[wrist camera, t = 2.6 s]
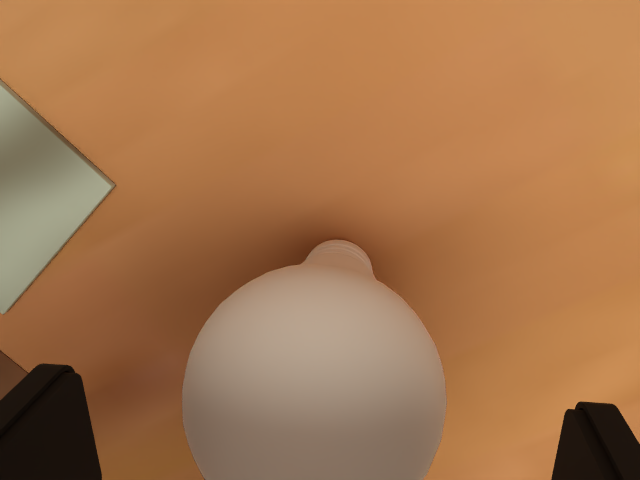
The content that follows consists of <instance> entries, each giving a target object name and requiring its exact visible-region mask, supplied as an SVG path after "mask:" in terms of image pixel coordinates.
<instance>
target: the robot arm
mask: <svg viewBox="0 0 640 480" xmlns="http://www.w3.org/2000/svg"><path fill="white" fill-rule="evenodd" d="M0 480H102V474H101V469H100V464H99V459H98V455H97V450H96V445H95V440H94V435H93V430H92V426H91V421H90V416H89V411H88V406H87V401H86V397H85V392H84V387H83V382H82V378H81V376H80V375H79V374H77V373H75V371H74V369H73V368H72V367H71V366H68V365H56V364H39V365H38V366H36V367H35V368H34V369H33V370H32V371H31V372H30V373H29V374H27V375H26V376H25V377H24V378H23V379H22V380H21V381H20V382H19V383H18V384H17V385H16V386H15V387H14V388H13V389H12V390H11V391H10V392H8V393H7V394H6V395H5V396H4V397H3V398H2V399H1V400H0ZM551 480H640V444H639V442H638V441H637V439H636V438H635V436H634V434H633V433H632V431H631V429H630V428H629V426H628V424H627V423H626V421H625V419H624V418H623V416H622V414H621V413H620V411H619V410H618V408H617V407H616V406H615V405H613V404H607V403H593V402H578V403H577V405H576V407H575V409H568V410H567V411H566V412H565V415H564V420H563V425H562V430H561V435H560V440H559V445H558V450H557V454H556V459H555V464H554V469H553V474H552V479H551Z"/></svg>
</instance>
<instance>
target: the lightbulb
mask: <svg viewBox="0 0 640 480" xmlns="http://www.w3.org/2000/svg"><path fill="white" fill-rule="evenodd" d="M446 405H447V398H446V386H445V377H444V372H443V367H442V364H441V360H440V357H439V354H438V351H437V348H436V345H435V343H434V342H433V340H432V338H431V336H430V335H429V333H428V331H427V330H426V328H425V326H424V324H423V323H422V321H421V320H420V318H419V317H418V315H417V314H416V313H415V312H414V311H413V309H412V308H411V307H410V306H409V305H408V304H407V303H406V302H405V301H404V300H403V298H402V297H401V296H399V295H398V294H397V293H395V292H394V291H393V290H391V289H390V288H389V287H387V286H386V285H385V284H383V283H382V282H380V281H378V280H376V278H375V276H374V275H373V270H372V265H371V262H370V259H369V257H368V256H367V254H366V253H365V252H364V251H363V250H362V249H361V248H360V247H359V246H357V245H356V244H354V243H352V242H349V241H345V240H329V241H326V242H323V243H321V244H319V245H318V246H316V247H315V248H314V249H313V250H312V251H311V252H310V253H309V255H308V257H307V258H306V259H305V261H304V262H302V263H301V264H300V265H292V266H287V267H283V268H280V269H276V270H273V271H269V272H267V273H265V274H263V275H261V276H259V277H257V278H255V279H253V280H251V281H250V282H248V283H246V284H245V285H243V286H242V287H240V288H239V289H237V290H236V291H235V292H234V293H233V294H231V295H230V296H229V297H228V298H226V299H225V300H224V301H223V302H222V303H220V304H219V306H218V307H217V308H216V310H215V311H214V312H213V313H212V315H211V316H210V317H209V319H208V320H207V321H206V323H205V324H204V326H203V327H202V329H201V331H200V332H199V334H198V336H197V338H196V341H195V343H194V345H193V347H192V349H191V352H190V355H189V358H188V362H187V366H186V371H185V376H184V382H183V387H182V413H183V427H184V430H185V434H186V437H187V441H188V444H189V447H190V450H191V453H192V455H193V458H194V460H195V462H196V464H197V466H198V468H199V470H200V472H201V474H202V476H203V477H204V479H205V480H423V479H424V477H425V476H426V475H427V473H428V470H429V468H430V466H431V463H432V461H433V459H434V456H435V454H436V451H437V449H438V447H439V444H440V442H441V438H442V432H443V426H444V420H445V413H446Z"/></svg>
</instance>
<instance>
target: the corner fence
mask: <svg viewBox="0 0 640 480" xmlns="http://www.w3.org/2000/svg"><path fill="white" fill-rule="evenodd" d="M115 186H116V185H115V184H114V183H113V182H112V181H111V180H110V179H109V178H108V177H107V176H105V175H104V174H103V173H102V172H101V171H100V170H99V169H98V168H97V167H96V166H95V165H93V164H92V163H91V162H90V161H89V160H88V159H87V158H86V157H85V156H84V155H83V154H81V153H80V152H79V151H78V150H77V149H76V148H75V147H74V146H73V145H72V144H70V143H69V142H68V141H67V140H66V139H65V138H64V137H63V136H62V135H61V134H60V133H58V132H57V131H56V130H55V129H54V128H53V127H52V126H51V125H50V124H49V123H48V122H46V121H45V120H44V119H43V118H42V117H41V116H40V115H39V114H38V113H37V112H36V111H34V110H33V109H32V108H31V107H30V106H29V105H28V104H27V103H26V102H25V101H24V100H22V99H21V98H20V97H19V96H18V95H17V94H16V93H15V92H14V91H13V90H11V89H10V88H9V87H8V86H7V85H6V84H5V83H4V82H3V81H2V80H1V79H0V313H2V314H5V313H6V312H8V310H9V309H10V308H11V307H12V306H13V305H14V303H15V302H16V301H17V300H18V299H19V298H20V296H21V295H22V294H23V293H24V292H25V291H26V289H27V288H28V287H29V286H30V285H31V284H32V282H33V281H34V280H35V279H36V278H37V277H38V275H39V274H40V273H41V272H42V271H43V270H44V268H45V267H46V266H47V265H48V264H49V263H50V261H51V260H52V259H53V258H54V257H55V256H56V254H57V253H58V252H59V251H60V250H61V249H62V247H63V246H64V245H65V244H66V243H67V242H68V240H69V239H70V238H71V237H72V236H73V235H74V233H75V232H76V231H77V230H78V229H79V228H80V226H81V225H82V224H83V223H84V222H85V221H86V219H87V218H88V217H89V216H90V215H91V214H92V212H93V211H94V210H95V209H96V208H97V207H98V205H99V204H100V203H101V202H102V201H103V200H104V198H105V197H106V196H107V195H108V194H109V193H110V191H111V190H112V189H113V188H114V187H115ZM27 374H28V373H27V372H25V371H24V370H23V369H22V368H20V367H19V366H18V365H17V364H15V363H14V362H13V361H12V360H10V359H9V358H8V357H7V356H6V355H4V354H3V353H2V352H1V351H0V400H1V399H2V398H3V397H4V396H5V395H6V394H7V393H8V392H10V391H11V390H12V389H13V388H14V387H15V386H16V385H17V384H18V383H19V382H20V381H21V380H22V379H23V378H24V377H25V376H26V375H27Z"/></svg>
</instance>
